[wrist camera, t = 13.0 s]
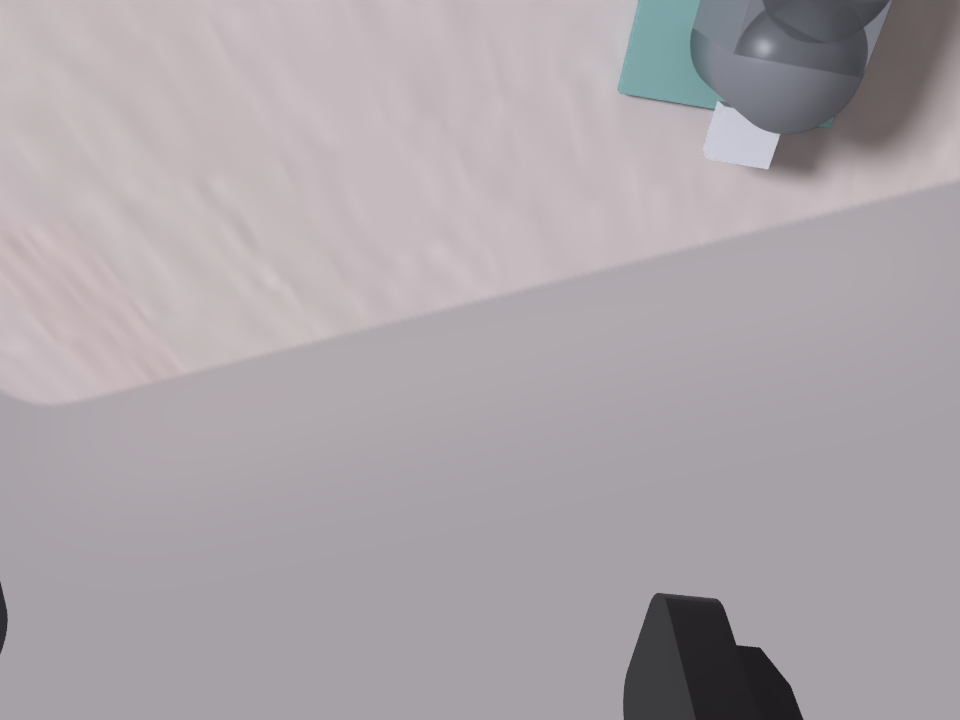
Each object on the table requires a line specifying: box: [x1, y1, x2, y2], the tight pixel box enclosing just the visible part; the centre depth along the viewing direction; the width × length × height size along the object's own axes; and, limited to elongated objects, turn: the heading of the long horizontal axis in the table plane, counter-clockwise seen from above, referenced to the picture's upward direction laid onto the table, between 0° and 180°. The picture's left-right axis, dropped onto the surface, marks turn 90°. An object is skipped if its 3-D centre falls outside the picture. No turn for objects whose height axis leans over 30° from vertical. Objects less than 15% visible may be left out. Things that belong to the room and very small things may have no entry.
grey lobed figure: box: [690, 0, 892, 169], centre depth 30 cm, size 9×4×6 cm, turn 170°
